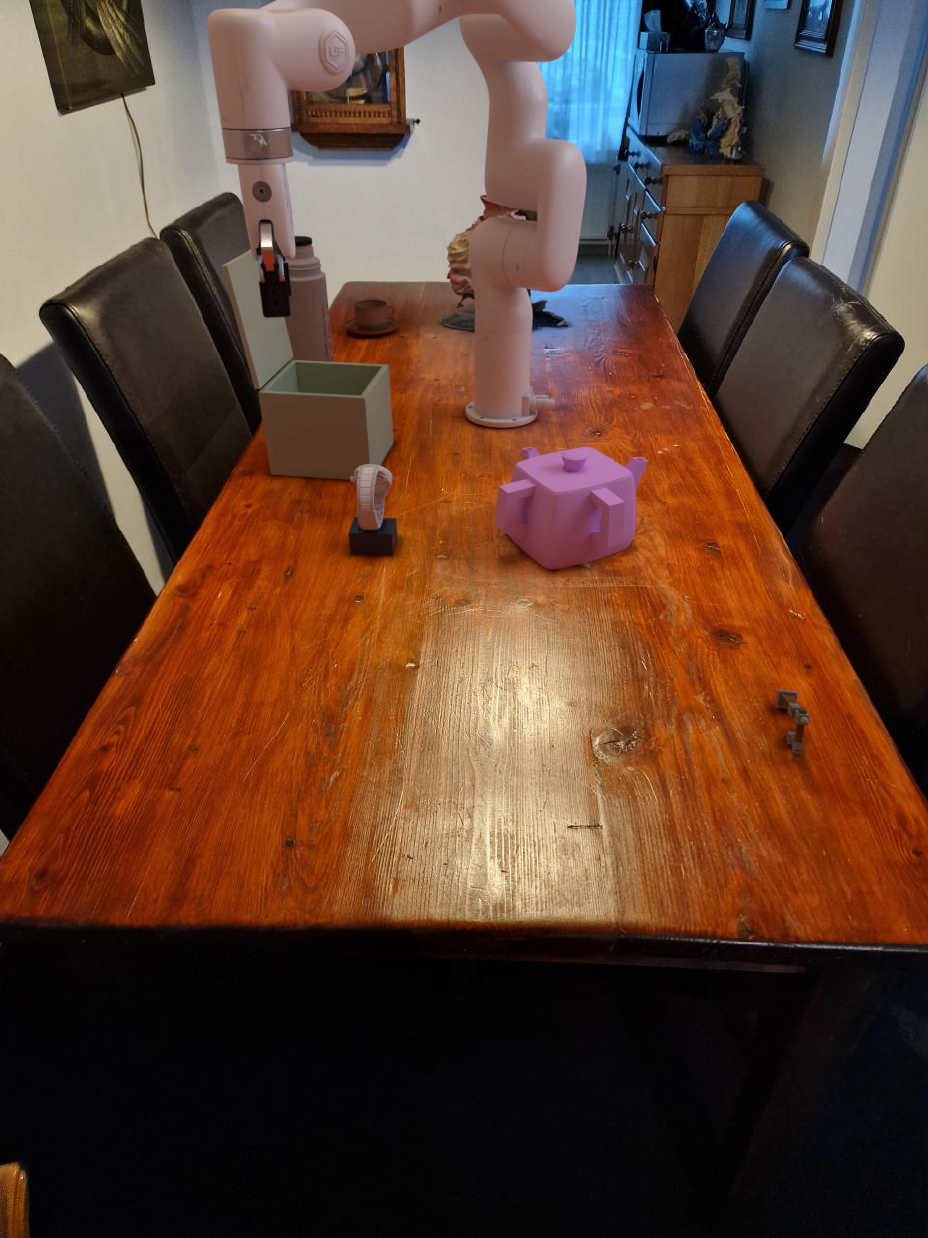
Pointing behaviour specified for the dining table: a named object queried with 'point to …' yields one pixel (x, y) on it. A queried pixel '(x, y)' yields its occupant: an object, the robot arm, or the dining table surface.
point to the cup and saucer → (372, 318)
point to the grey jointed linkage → (800, 716)
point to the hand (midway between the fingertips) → (278, 305)
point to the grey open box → (326, 418)
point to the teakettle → (570, 505)
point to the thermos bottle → (308, 306)
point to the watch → (372, 513)
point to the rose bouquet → (462, 271)
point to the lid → (256, 321)
